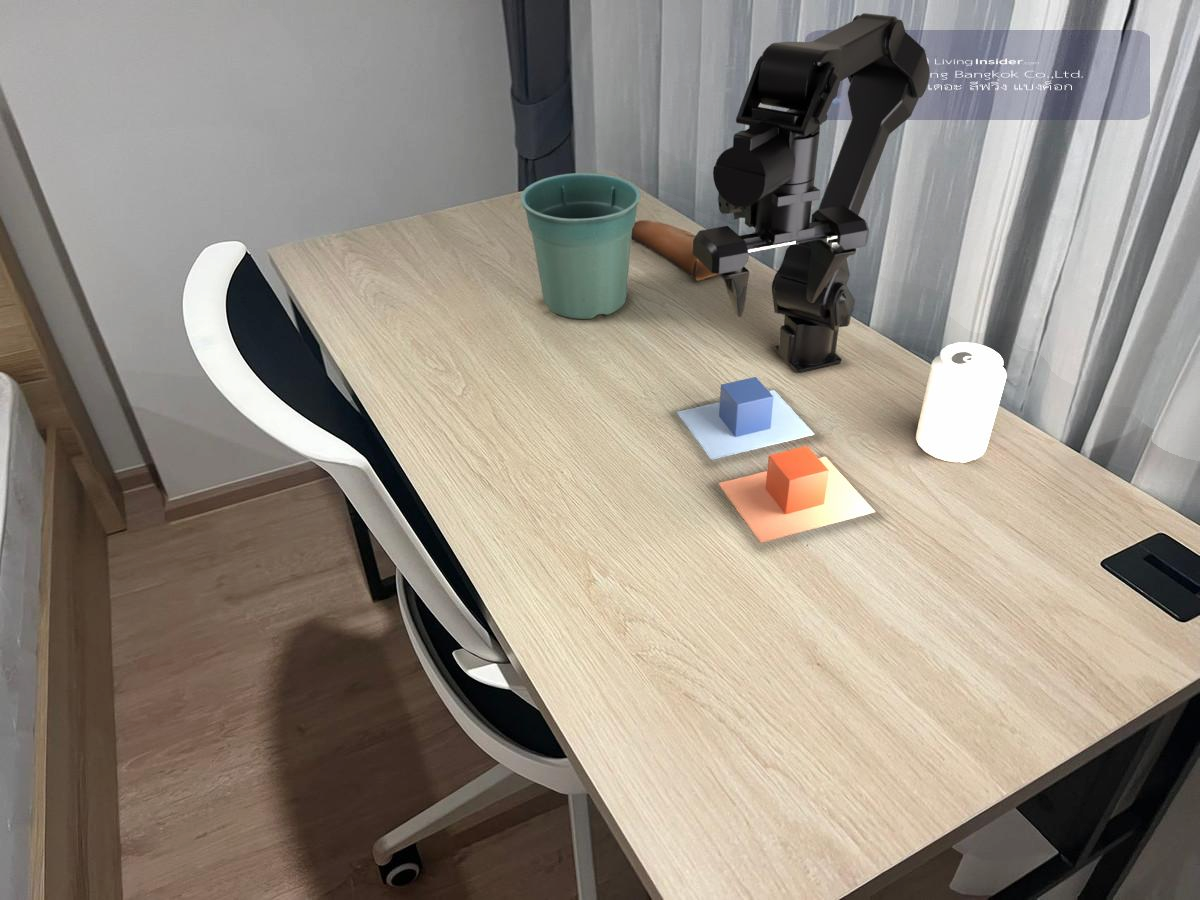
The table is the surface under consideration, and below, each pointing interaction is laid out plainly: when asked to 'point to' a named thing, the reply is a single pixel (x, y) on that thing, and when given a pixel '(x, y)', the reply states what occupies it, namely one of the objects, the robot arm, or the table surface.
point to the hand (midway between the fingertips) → (774, 308)
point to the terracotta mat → (776, 524)
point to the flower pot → (582, 240)
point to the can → (961, 402)
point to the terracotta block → (796, 479)
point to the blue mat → (724, 443)
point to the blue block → (745, 406)
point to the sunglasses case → (671, 246)
